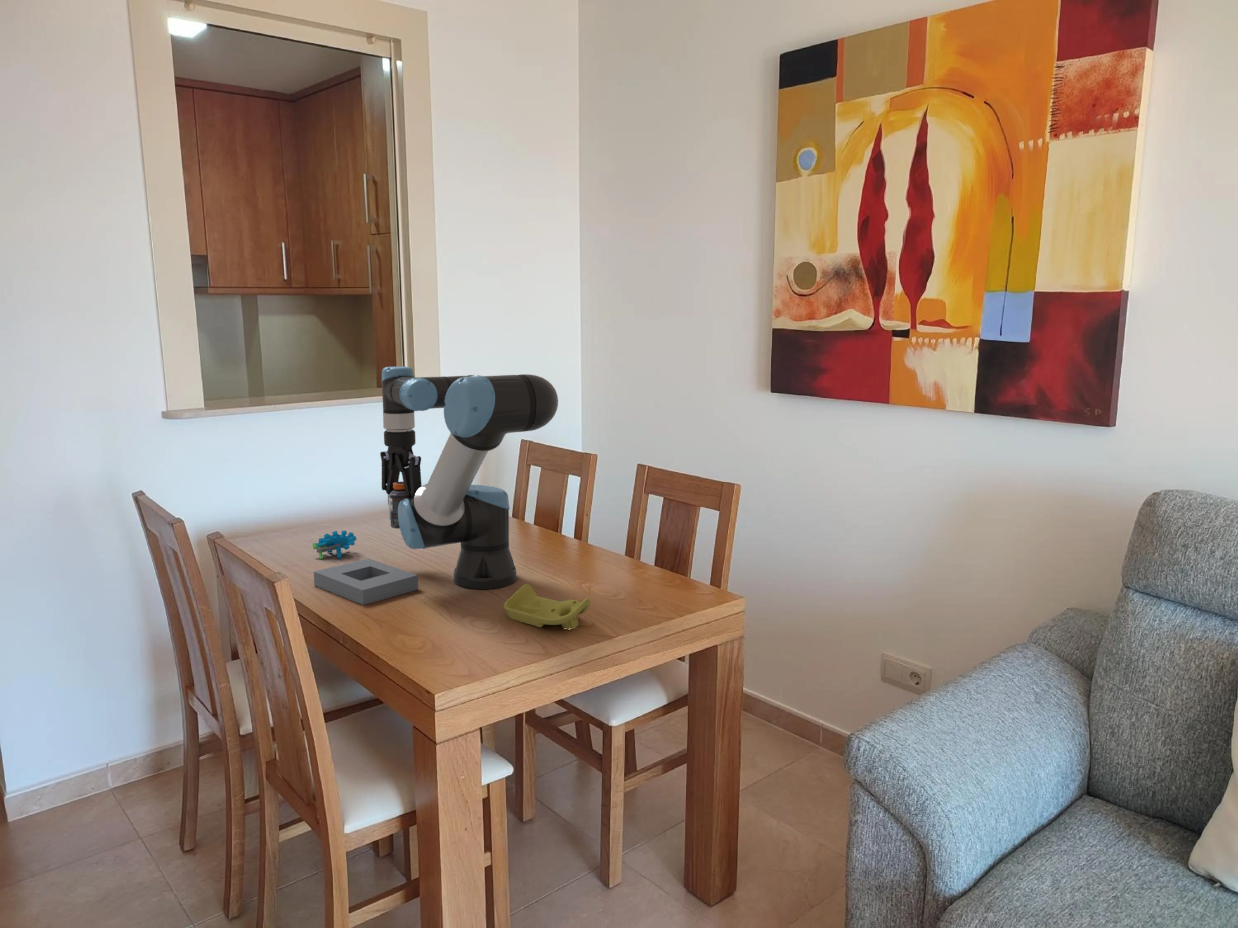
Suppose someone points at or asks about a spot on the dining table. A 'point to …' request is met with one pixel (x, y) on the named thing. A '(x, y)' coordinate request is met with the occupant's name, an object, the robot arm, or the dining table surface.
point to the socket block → (366, 581)
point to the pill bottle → (396, 502)
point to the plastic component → (543, 609)
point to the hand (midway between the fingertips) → (402, 520)
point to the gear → (334, 543)
